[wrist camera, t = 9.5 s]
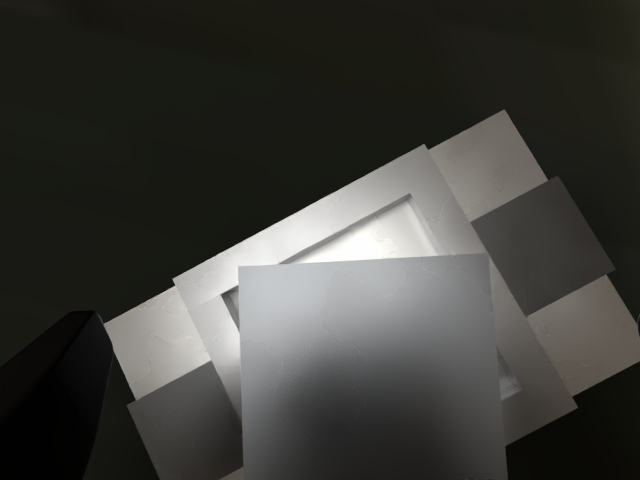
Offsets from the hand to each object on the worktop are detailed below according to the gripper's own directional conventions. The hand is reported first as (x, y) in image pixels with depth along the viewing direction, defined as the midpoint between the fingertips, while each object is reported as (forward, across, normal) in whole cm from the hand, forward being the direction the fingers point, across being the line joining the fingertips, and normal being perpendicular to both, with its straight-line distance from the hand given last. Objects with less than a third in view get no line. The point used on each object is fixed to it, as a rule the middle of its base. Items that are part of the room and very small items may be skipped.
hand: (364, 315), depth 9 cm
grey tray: (+7, 0, +8) cm, 11 cm away
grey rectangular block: (+6, 0, +7) cm, 10 cm away
